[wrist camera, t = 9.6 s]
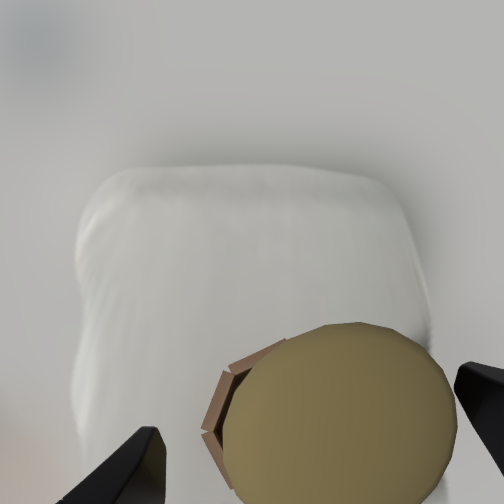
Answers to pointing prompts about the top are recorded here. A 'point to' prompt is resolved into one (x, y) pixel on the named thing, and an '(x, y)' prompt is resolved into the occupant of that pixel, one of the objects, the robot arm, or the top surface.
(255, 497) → the cork
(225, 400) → the walnut stand
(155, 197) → the top surface
